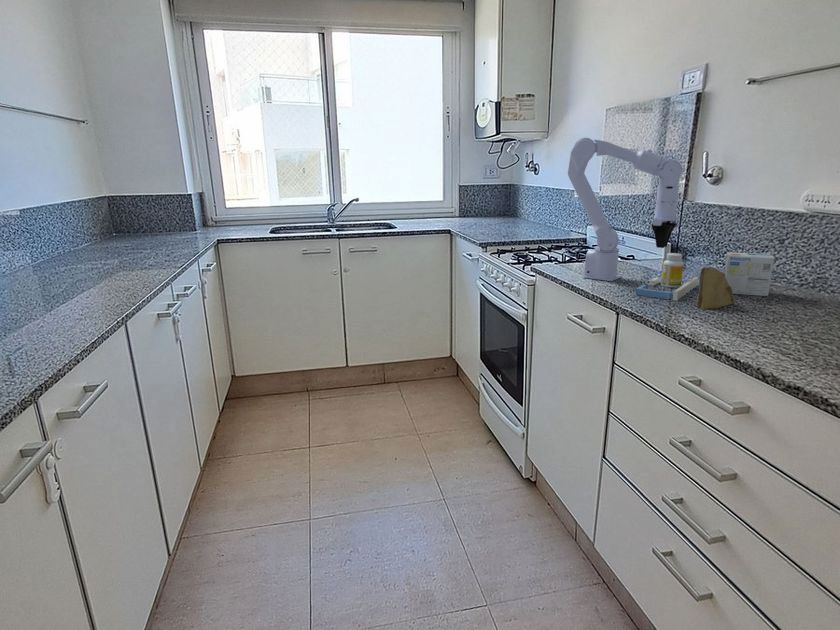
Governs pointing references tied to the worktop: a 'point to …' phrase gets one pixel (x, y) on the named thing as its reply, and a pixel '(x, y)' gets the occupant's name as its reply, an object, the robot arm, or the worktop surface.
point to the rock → (713, 289)
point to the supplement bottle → (672, 271)
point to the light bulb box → (749, 273)
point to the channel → (666, 295)
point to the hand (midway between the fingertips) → (661, 247)
